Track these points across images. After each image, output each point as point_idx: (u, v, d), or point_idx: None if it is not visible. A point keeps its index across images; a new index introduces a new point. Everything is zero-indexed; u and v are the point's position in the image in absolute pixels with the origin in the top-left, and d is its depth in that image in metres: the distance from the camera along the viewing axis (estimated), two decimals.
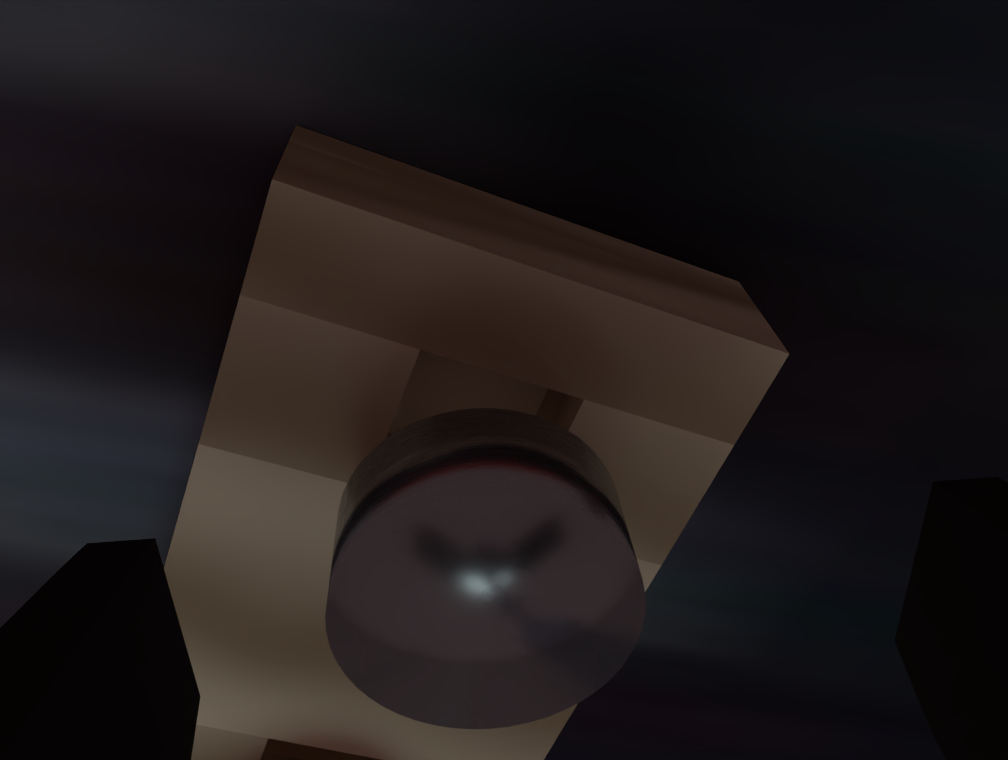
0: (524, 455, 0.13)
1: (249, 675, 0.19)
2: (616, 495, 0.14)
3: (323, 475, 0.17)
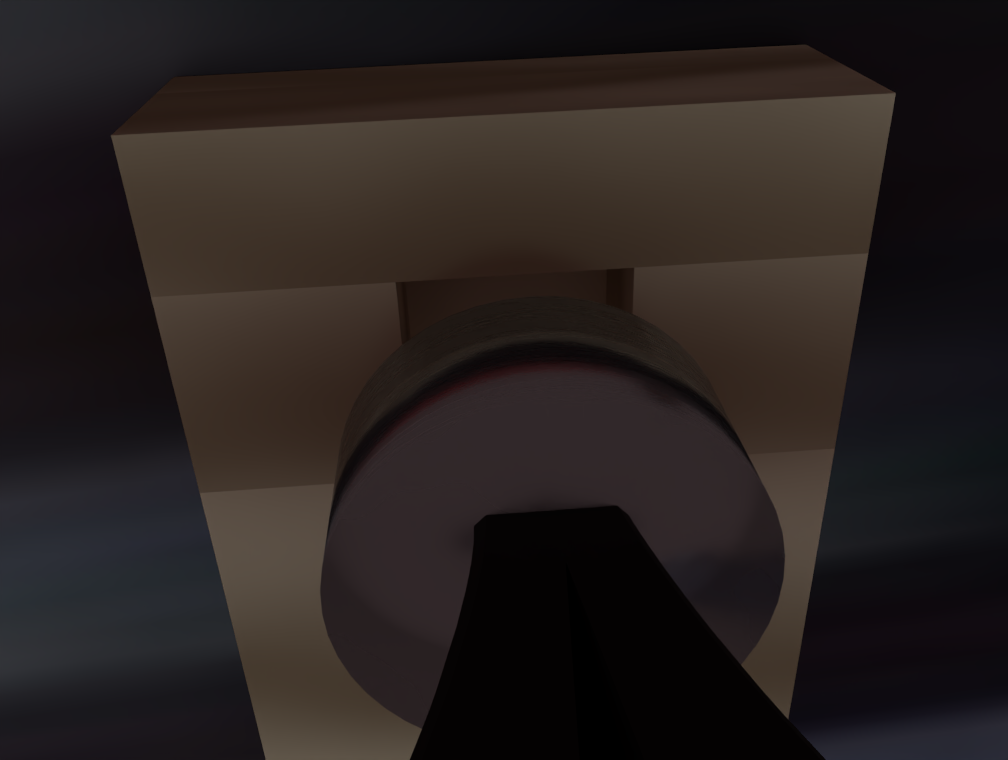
0: (515, 351, 0.09)
1: (391, 734, 0.16)
2: (688, 364, 0.09)
3: None
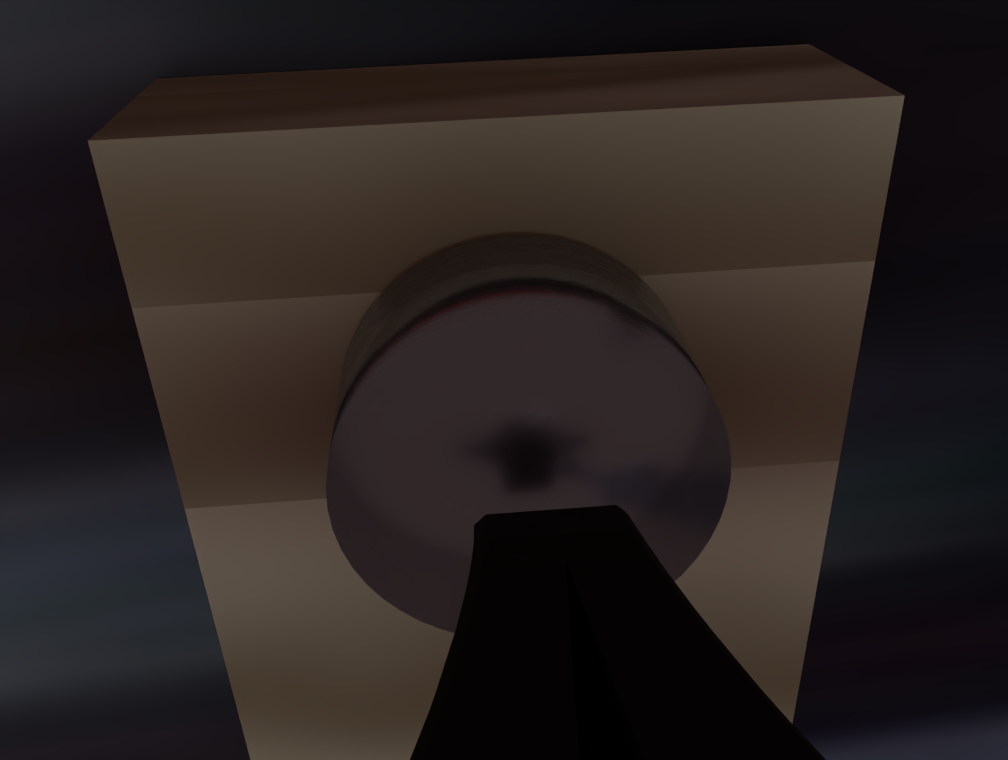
0: (495, 277, 0.10)
1: (384, 751, 0.15)
2: (648, 295, 0.11)
3: None
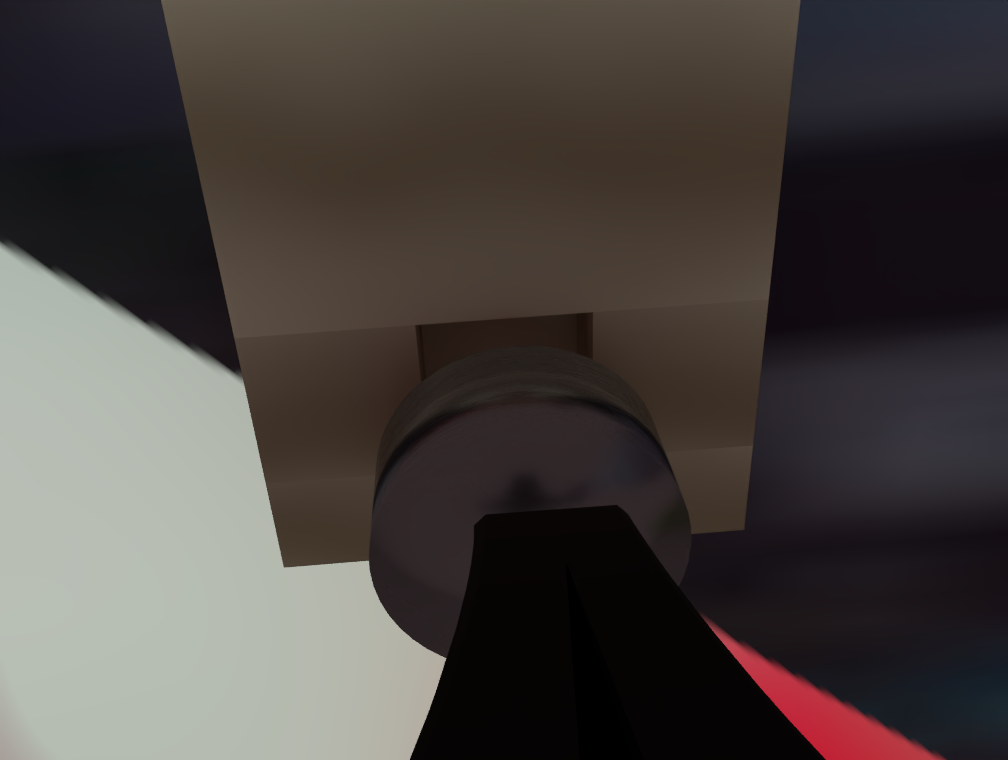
0: None
1: None
2: None
3: None
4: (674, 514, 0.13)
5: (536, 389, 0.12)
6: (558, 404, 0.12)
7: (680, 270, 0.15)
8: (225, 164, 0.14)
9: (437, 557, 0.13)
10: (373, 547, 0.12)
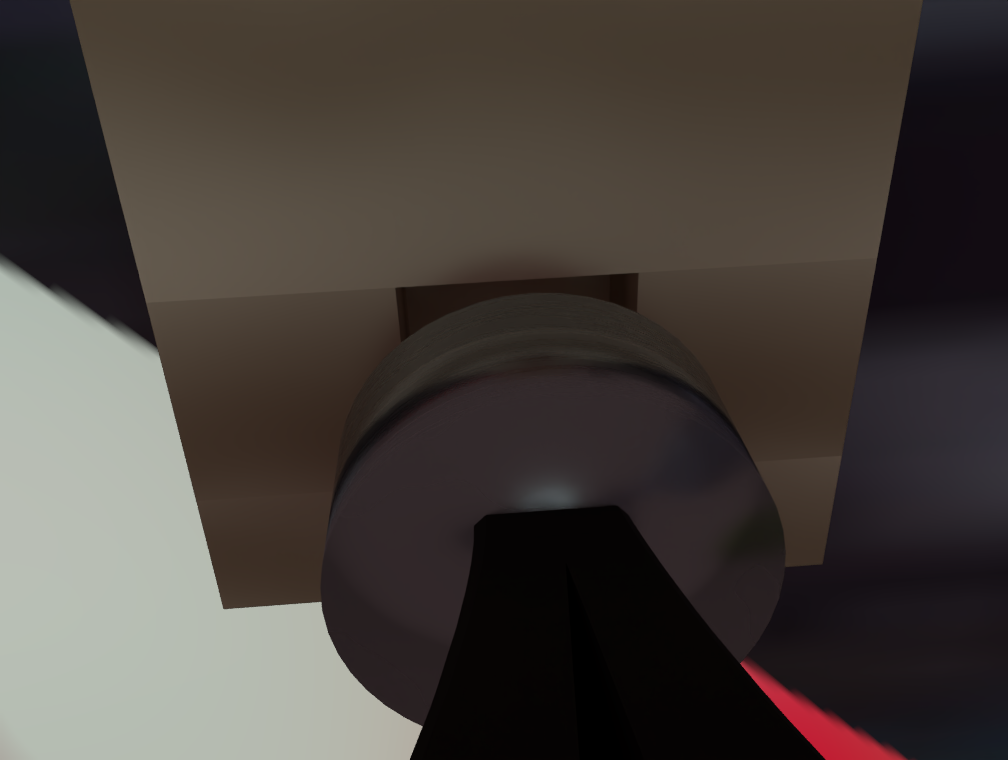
0: None
1: None
2: None
3: None
4: (763, 534, 0.09)
5: (566, 351, 0.08)
6: (600, 371, 0.08)
7: (760, 214, 0.11)
8: (123, 47, 0.10)
9: (419, 592, 0.09)
10: (326, 578, 0.09)
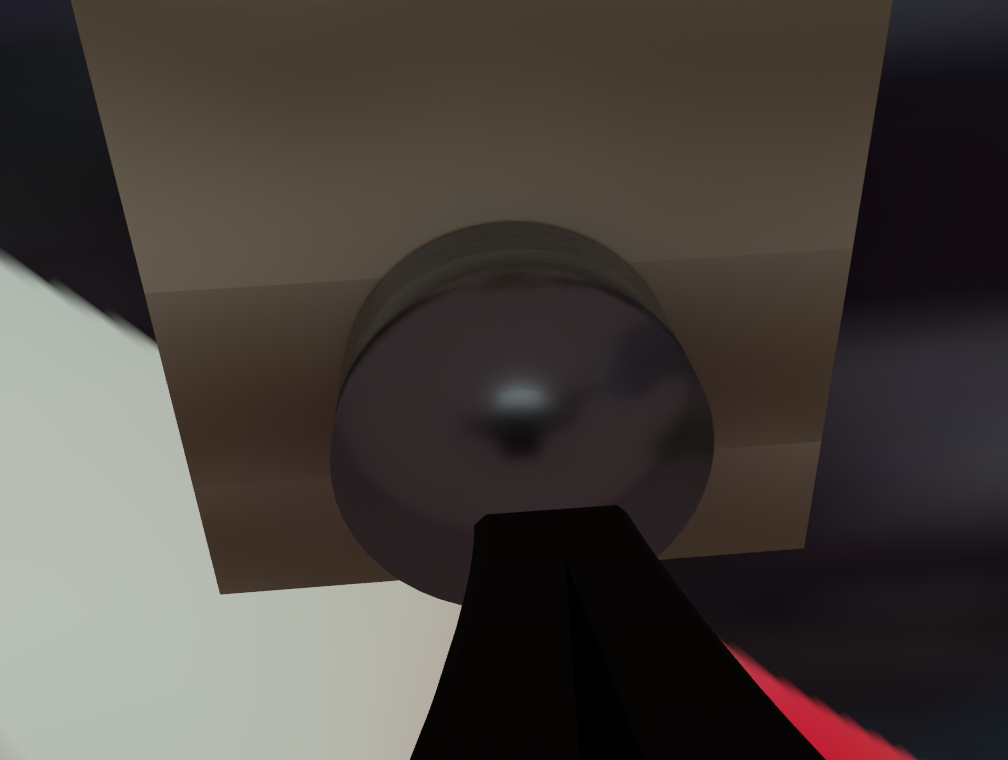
0: None
1: None
2: None
3: None
4: (695, 415, 0.10)
5: (531, 263, 0.10)
6: (558, 277, 0.10)
7: (739, 206, 0.12)
8: (122, 45, 0.10)
9: (411, 465, 0.11)
10: (335, 452, 0.10)
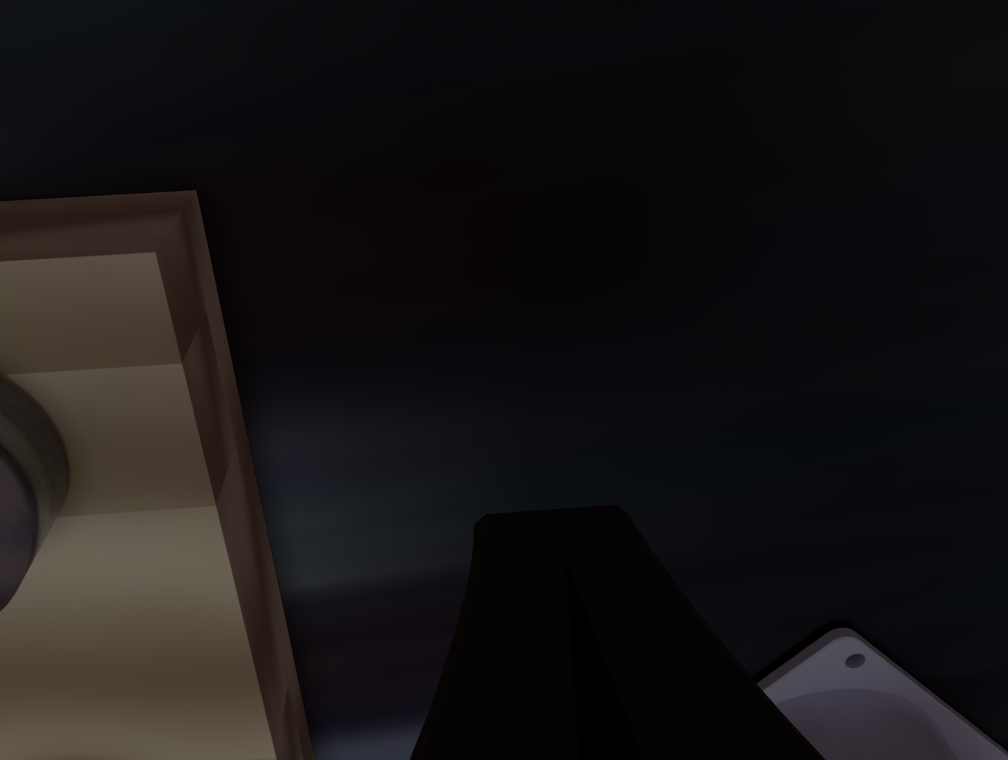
0: None
1: None
2: None
3: None
4: None
5: None
6: None
7: None
8: None
9: None
10: None
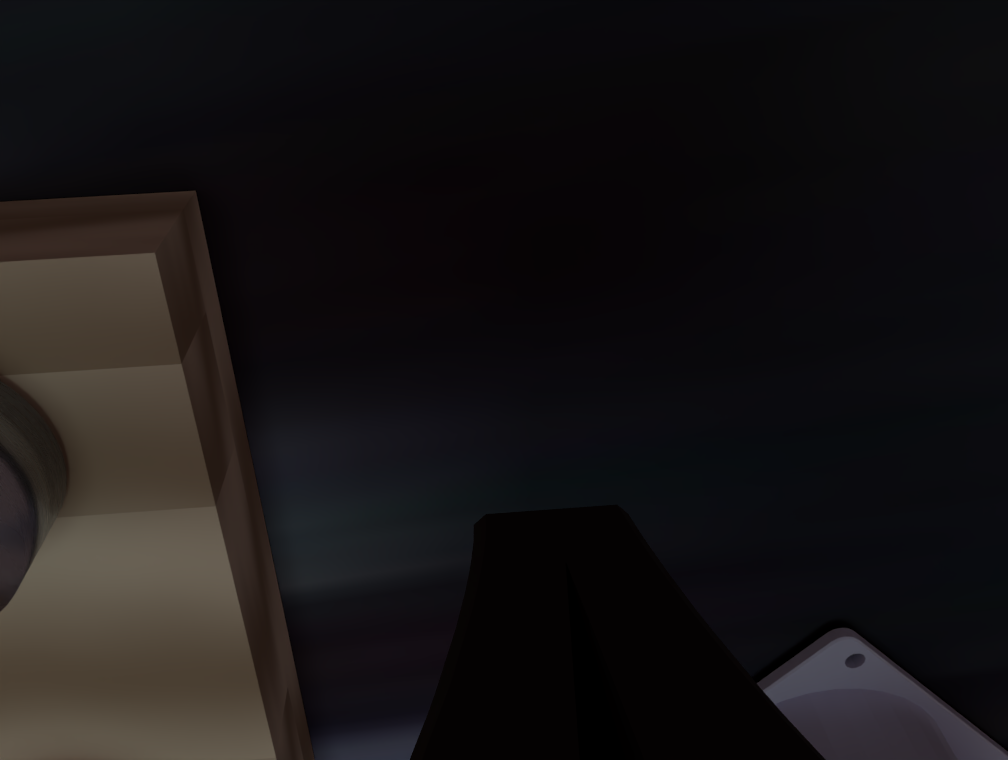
0: None
1: None
2: None
3: None
4: None
5: None
6: None
7: None
8: None
9: None
10: None
